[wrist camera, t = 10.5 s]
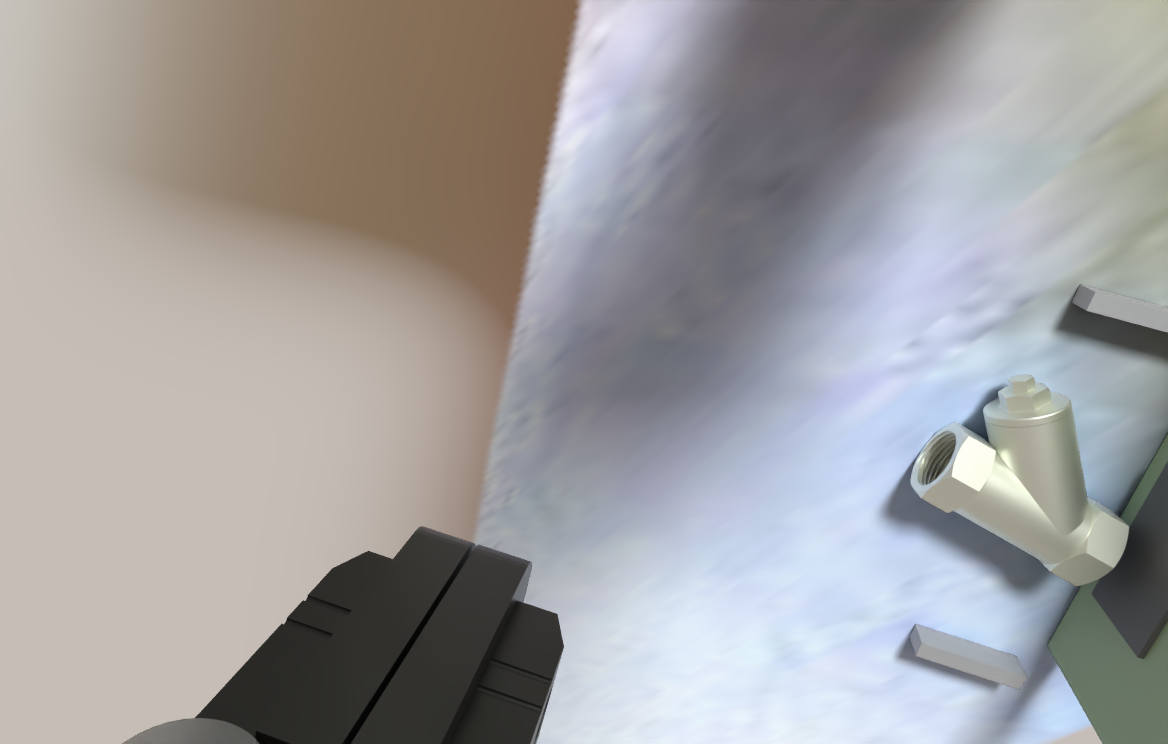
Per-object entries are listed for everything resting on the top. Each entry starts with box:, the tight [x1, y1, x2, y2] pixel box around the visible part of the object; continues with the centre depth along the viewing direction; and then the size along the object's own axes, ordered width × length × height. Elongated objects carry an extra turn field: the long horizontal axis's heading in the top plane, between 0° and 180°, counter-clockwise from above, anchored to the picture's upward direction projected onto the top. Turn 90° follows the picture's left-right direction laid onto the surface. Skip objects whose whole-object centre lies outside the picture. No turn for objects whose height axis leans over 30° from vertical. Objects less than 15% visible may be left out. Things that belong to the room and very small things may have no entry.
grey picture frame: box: [910, 284, 1168, 744], centre depth 30 cm, size 19×7×10 cm, turn 166°
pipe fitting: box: [910, 375, 1129, 587], centre depth 33 cm, size 8×4×7 cm
